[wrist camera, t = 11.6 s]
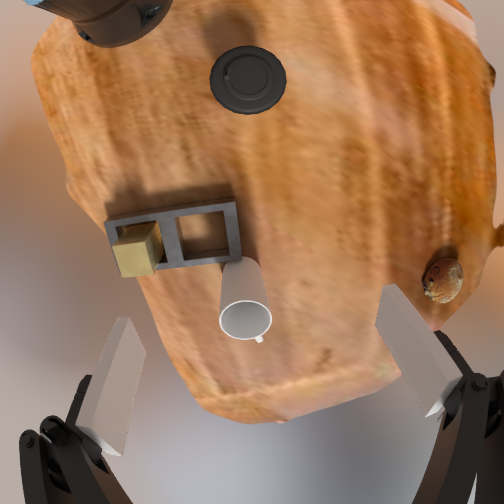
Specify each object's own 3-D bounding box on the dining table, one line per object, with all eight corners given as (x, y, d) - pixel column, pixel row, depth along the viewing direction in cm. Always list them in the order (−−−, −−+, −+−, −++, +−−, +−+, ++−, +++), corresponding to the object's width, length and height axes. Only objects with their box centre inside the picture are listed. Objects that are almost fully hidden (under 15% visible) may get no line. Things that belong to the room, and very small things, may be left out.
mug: (214, 263, 44) (209, 310, 34) (253, 248, 44) (260, 292, 33) (239, 308, 49) (242, 359, 38) (274, 295, 48) (286, 344, 37)
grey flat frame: (109, 216, 39) (103, 222, 37) (234, 196, 40) (235, 201, 37) (124, 266, 43) (120, 274, 41) (241, 252, 44) (242, 259, 42)
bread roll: (432, 285, 56) (457, 301, 49) (413, 299, 51) (441, 318, 45) (445, 248, 51) (473, 264, 45) (428, 258, 46) (459, 276, 40)
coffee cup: (207, 70, 31) (199, 54, 22) (265, 56, 31) (276, 36, 22) (223, 123, 35) (220, 123, 26) (281, 108, 34) (297, 104, 25)
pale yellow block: (128, 226, 40) (111, 246, 34) (156, 222, 41) (144, 241, 34) (135, 254, 43) (122, 277, 37) (163, 251, 43) (153, 274, 37)
